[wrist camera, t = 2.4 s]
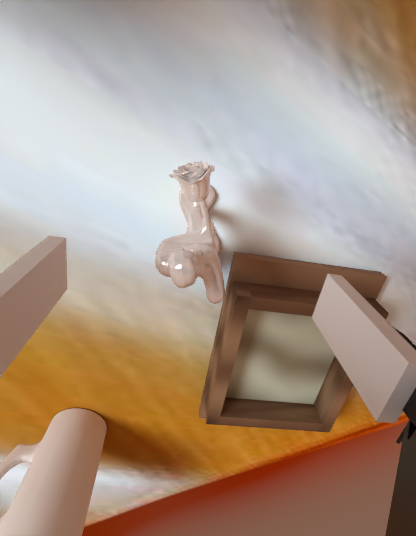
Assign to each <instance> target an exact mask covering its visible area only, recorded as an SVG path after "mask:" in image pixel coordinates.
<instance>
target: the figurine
mask: <svg viewBox="0 0 416 536" xmlns="http://www.w3.org/2000/svg"><path fill="white" fill-rule="evenodd" d="M214 168H215V166H213V167H212V165H211V166H210V165H209V164H208V163H207V162H203V163H202V161H199V162H194V163H193V164H191V163H188V164H186V165H184V166H180V167H178V170H173V172H174V173H173V174H169V176H170V177H171V178H176V179H177V181H178V182H179V184H180V186H181V191H180V195H179V203H180V207H181V209H182V211H183V214H184V216H185V218H186V221H187V224H188V227H187V231H186V233H185V234H181V235H177V236H173V237H169V238H167V239H165V240H163V241H162V242H161V243H160V245H159V247H158V249H157V251H156V260H155V263H156V268H157V269H158V271H159V272H160V273H161V274H162V275H164V276H167V277H171V278H172V281H173V282H174V284H175V285H176V286H177V287H179V288H186V287H188V286H190V285H193V284H194V283H195V281H196V278H197V277H198V276H199V277H201V278H202V279H203V280H204V284H205V288H206V293H207V298H208V300H209V301H210V302H211V303H219V302H221V301H222V300H223V298H224V294H225V289H224V280H223V274H222V268H221V264H220V259H219V257H218V254H219V252H220V242H219V239H218V237H217V235H216V233H215V232H216V231H215V227H214V223H213V222H210V219H209V215H208V211H209V209H210V207H211V205H212V203H213V201H214V199H215V191H214V189H213V188H212V187H211V186H210V175H211V172H213V171H214Z"/></svg>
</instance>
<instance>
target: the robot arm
mask: <svg viewBox="0 0 416 536" xmlns="http://www.w3.org/2000/svg"><path fill="white" fill-rule="evenodd" d="M66 290H67V260H66V238H62V237H55V236H48V237H47V238H46V239H44V240H43V241H42V242H40V243H39V244H38V245H37V246H35V247H34V248H33V249H31V250H30V251H29V252H28V253H26V254H25V255H24V256H23V257H21V258H20V259H19V260H17V261H16V262H15V263H14V264H12V265H11V266H10V267H9V268H7V269H6V270H5V271H3V272H2V273H1V274H0V377H1V376H2V375H3V373H4V372H5V371H6V369H7V368H8V367H9V365H10V364H11V363H12V361H13V360H14V359H15V357H16V356H17V355H18V353H19V352H20V351H21V349H22V348H23V347H24V345H25V344H26V343H27V341H28V340H29V339H30V338H31V336H32V335H33V334H34V332H35V331H36V330H37V328H38V327H39V326H40V324H41V323H42V322H43V320H44V319H45V318H46V316H47V315H48V314H49V312H50V311H51V310H52V308H53V307H54V306H55V304H56V303H57V302H58V300H59V299H60V298H61V296H62V295H63V294H64V292H65V291H66ZM312 319H313V321H314V322H315V324H316V325H317V327H318V329H319V330H320V332H321V333H322V335H323V337H324V338H325V340H326V342H327V343H328V345H329V346H330V348H331V350H332V351H333V353H334V354H335V356H336V358H337V359H338V361H339V363H340V364H341V366H342V367H343V369H344V371H345V372H346V374H347V375H348V377H349V379H350V380H351V382H352V383H353V385H354V387H355V388H356V390H357V392H358V393H359V395H360V396H361V398H362V400H363V401H364V403H365V404H366V406H367V408H368V409H369V411H370V412H371V414H372V416H373V417H374V419H375V421H376V422H387V423H396V422H397V420H398V418H399V417H400V415H401V413H402V412H403V411H404V413H405V414H406V415H407V417H408V418H409V419H410V420H409V422H408V423H407V425H406V427H405V428H404V430H403V432H402V433H401V435H400V436H399V438H398V440H397V441H396V442H397V443H400V442H401V441H402V447H401V453H400V459H399V464H398V469H397V475H396V480H395V486H394V491H393V497H392V503H391V508H390V514H389V519H388V525H387V530H386V536H416V346H415V345H414V344H412V342H411V341H410V340H409V339H408V338H407V337H406V336H405V335H404V334H403V333H401V332H400V331H398V330H397V329H395V328H394V327H392V326H391V325H390V324H389V323H388V322H387V321H386V320H385V319H384V318H383V317H382V316H381V315H380V314H379V313H378V312H377V311H376V310H375V309H374V308H373V307H372V306H371V305H370V304H369V303H368V302H367V301H366V300H365V299H364V298H363V297H362V296H361V295H360V294H359V293H358V292H357V291H356V290H355V289H354V288H353V287H352V286H351V285H350V283H349V282H348V281H347V280H346V279H345V278H344V277H343V276H342V275H335V274H327V277H326V280H325V282H324V285H323V288H322V291H321V293H320V296H319V299H318V302H317V304H316V307H315V310H314V313H313V315H312Z"/></svg>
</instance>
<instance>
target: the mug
mask: <svg viewBox="0 0 416 536" xmlns="http://www.w3.org/2000/svg"><path fill="white" fill-rule="evenodd" d="M106 431H107V426H106V423H105V421H104V420H103V418H102V417H101V416H99V415H98V414H97V413H95V412H93V411H90V410H87V409H82V408H71V409H66V410H63V411H61V412H59V413H58V414H56V415H55V416H54V418H53V419H52V421H51V423H50V425H49V427H48V429H47V431H46V433H45V435H44V437H43V439H42V441H41V442H39V443H37V444H32V445H26V444H19V445H18V446H17V447H16V448H15V449H14V450H13V451H12V452H11V453H10V454H9V455H8V456H7V457H6V458H5V459H4V460H3V461H2V462H1V463H0V479H1V478H2V477H3V476H4V475H5V474H6V473H7V472H8V471H9V470H10V469H11V468H13V467H14V466H16V465H17V464H19V463H22V462H29V463H31V464H30V466H29V468H28V470H27V472H26V474H25V477H24V479H23V481H22V483H21V485H20V487H19V489H18V491H17V493H16V495H15V497H14V499H13V501H12V503H11V505H10V507H9V509H8V511H7V512H6V514H4V515H2V516H0V536H82V532H83V528H84V524H85V520H86V516H87V511H88V507H89V503H90V499H91V495H92V490H93V486H94V482H95V478H96V474H97V470H98V466H99V462H100V458H101V453H102V448H103V444H104V440H105V436H106Z"/></svg>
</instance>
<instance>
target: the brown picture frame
mask: <svg viewBox="0 0 416 536" xmlns="http://www.w3.org/2000/svg"><path fill="white" fill-rule="evenodd" d="M327 274H335V275H342V276H343V277H344V278H345V279H346V280H347V281H348V282H349V283H350V285H351V286H352V287H353V288H354V289H355V290H356V291H357V292H358V293H359V294H360V295H361V296H362V297H363V298H364V299H365V300H366V301H367V302H368V303H369V304H370V305H371V306H372V307H373V308H374V309H375V310H376V311H377V312H378V313H379V314H380V315H381V316H382V317H383V318H384V319H385V320H386V318H387V316H388V314H389V313H388V312H387V311H386V310H385V309H384V308H383V307H382V306H381V305H380V304H379V303H378V302H377V301H376V298H377V296H378V294H379V292H380V289H381V287H382V285H383V283H384V281H385V279H386V276H384V275H383V274H382V273H381V272H376V271H369V270H362V269H354V268H347V267H340V266H332V265H325V264H318V263H310V262H303V261H296V260H288V259H281V258H274V257H266V256H259V255H252V254H244V253H237V252H234V255H233V259H232V264H231V268H230V273H229V277H228V282H227V286H226V291H225V295H224V300H223V305H222V309H221V314H220V318H219V323H218V327H217V332H216V336H215V341H214V345H213V350H212V354H211V359H210V363H209V368H208V372H207V377H206V382H205V386H204V391H203V395H202V400H201V404H200V409H199V418H206V424H215V425H230V426H245V427H259V428H274V429H289V430H304V431H319V432H330V430H331V428H332V426H333V424H334V422H335V420H336V418H337V416H338V414H339V412H340V410H341V408H342V406H343V404H344V402H345V400H346V398H347V396H348V394H349V392H350V390H351V388H352V386H353V383H352V382H351V380H350V379H349V377H348V375H347V374H346V372H345V371H344V369H343V367H342V366H341V364H340V363H339V361H338V359H337V358H336V356H335V354H334V353H333V351H332V350H331V348H330V346H329V345H328V343H327V342H326V340H325V338H324V337H323V335H322V333H321V332H320V330H319V329H318V327H317V325H316V324H315V322H314V321H313V319H312V315H313V313H314V310H315V307H316V304H317V302H318V299H319V296H320V293H321V291H322V288H323V285H324V282H325V280H326V277H327Z"/></svg>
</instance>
